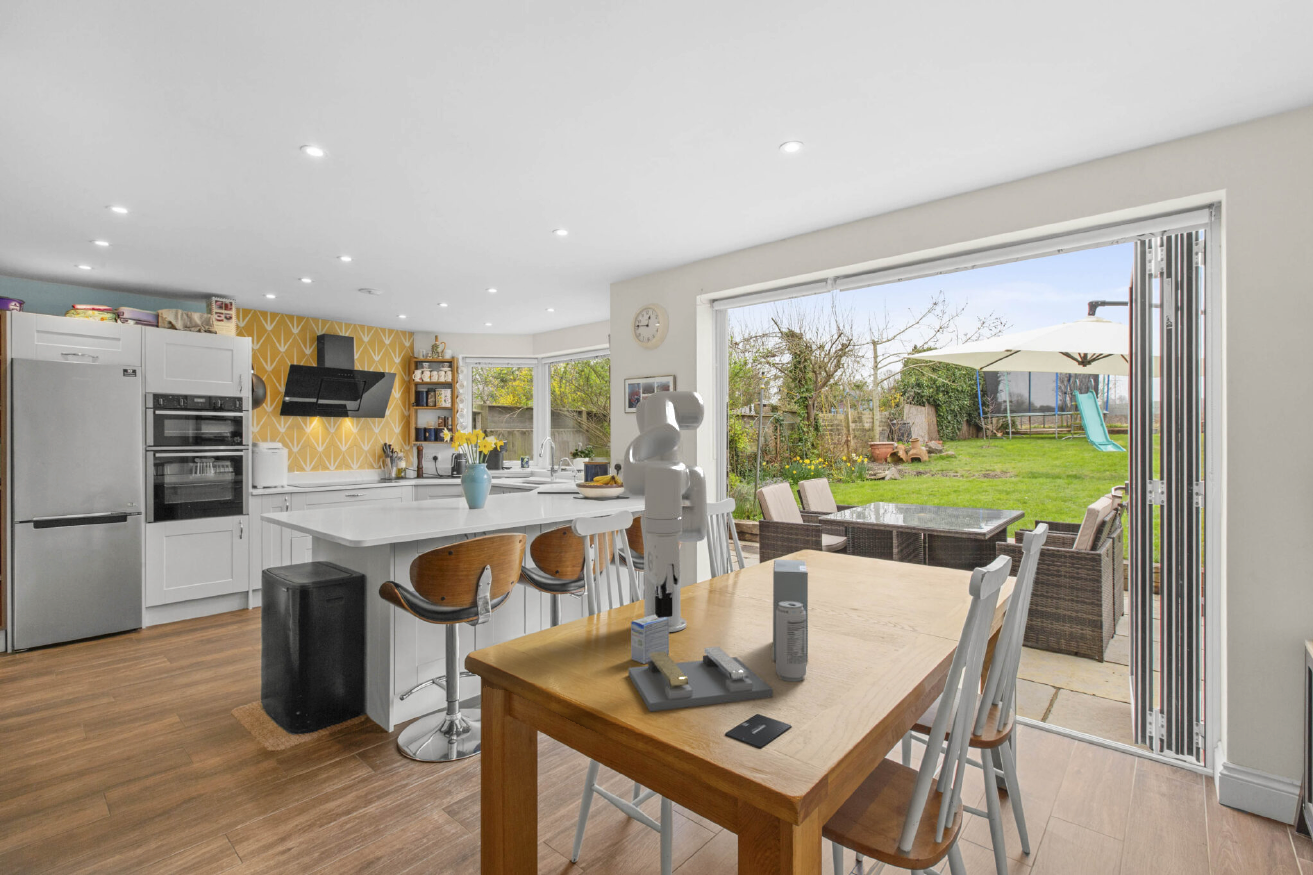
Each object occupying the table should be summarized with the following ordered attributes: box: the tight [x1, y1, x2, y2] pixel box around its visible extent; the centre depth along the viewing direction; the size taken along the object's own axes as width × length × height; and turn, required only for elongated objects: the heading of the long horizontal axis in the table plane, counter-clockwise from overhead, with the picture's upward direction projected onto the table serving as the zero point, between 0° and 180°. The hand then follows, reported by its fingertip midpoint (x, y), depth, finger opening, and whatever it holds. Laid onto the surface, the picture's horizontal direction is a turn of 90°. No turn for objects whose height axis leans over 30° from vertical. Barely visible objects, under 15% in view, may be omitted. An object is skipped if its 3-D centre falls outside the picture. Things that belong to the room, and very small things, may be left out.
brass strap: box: [650, 651, 688, 687], centre depth 120 cm, size 16×3×2 cm, turn 15°
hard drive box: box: [772, 559, 809, 664], centre depth 141 cm, size 16×8×20 cm, turn 168°
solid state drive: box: [724, 713, 792, 750], centre depth 102 cm, size 7×10×1 cm
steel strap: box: [704, 646, 749, 680], centre depth 123 cm, size 16×3×2 cm, turn 15°
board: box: [628, 654, 774, 713], centre depth 122 cm, size 18×24×3 cm
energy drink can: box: [775, 601, 807, 683], centre depth 126 cm, size 6×6×15 cm
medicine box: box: [630, 615, 670, 665], centre depth 138 cm, size 8×4×9 cm, turn 135°
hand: (663, 615), depth 124 cm, fingers closed
